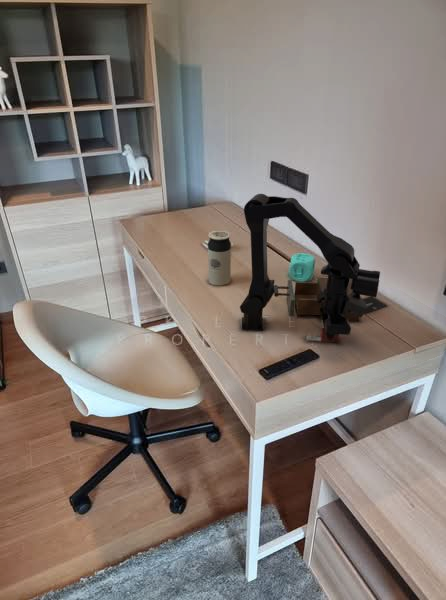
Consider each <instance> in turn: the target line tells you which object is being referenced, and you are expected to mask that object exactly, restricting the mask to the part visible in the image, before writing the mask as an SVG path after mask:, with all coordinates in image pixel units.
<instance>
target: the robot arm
mask: <svg viewBox="0 0 446 600" xmlns="http://www.w3.org/2000/svg"><path fill="white" fill-rule="evenodd" d="M243 214H244V218H245V223H246V225H247V227H248V229H249V233H250V254H251V255H250V256H251V259H250V260H251V281H250V286H249V289H248V294H247V295H246V297H245V298H244V299H243V301H242V302H241V304H240V306H239V309H240V312H241V313H242V314H243V315H242V316H243V317H242V318H241V330H242V331H261V332H262V331H264V318H263V311H264V308H266V307H267V305H268V303H269V302H270V301H271V299H272V297H273V296H274V292H275V290H274V285H275V279H270V277H269V274H268V226H269V222H270V220H271V219H277V218H287V219H288V220H289V221H290V222H292V224H293V225H295V226H296V227H297V229H299V230H300V231H301V232H302V233H303V234H304V235H305V236H306V237H307V238H308V239H310V240H311V242H312V243H313V244H315V246H316V247H317V248H318V249H319V250H320V252H321V254H322V256H323V258H324V259H325V261H326V262H327V263H326V264H325V265H324V266H322V268H321V270H320V275H325V276H327V277H326V278H327V285H326V288H324V292H323V291H322V292H320V293H319V294H318V303H319V304H321V301H322V300H324V301H322V305H323V308H320V312H321V316H322V319H323V321H322V323H323V328H325V331H326V334H327V337H328V340H332V339H333V337H334V336H335V334H336V335H339V336H349V335H350V334H351V331H352V327H351V323H350V321H348V320H347V319H346V318H344V316H343V315H347V314H348V312H349V313H351V314H354V315H357V316H358V317H359V318H362V317H363V315H365V314H364V312H365V311H366V309H367V306H366V303H365V302H364V301H363V299H364V298H362V297H361V299H360V296H366V297H374V298H377V295H378V292H379V285H380V277H381V271H379V270H369V269H363V268H362V269H361V268H360V266H361V264H360V263H359V260H358V259H357V257H356V256H355V248H354V246H352V245H351V244H350V243H349V242H347V241H346V240H345V239H343V238H342V237H339V236H337V235H334V234H333V233H331V232H330V231H328V229H326V227H325V226H324V225H323V224H322V223H320V221H318V219H316V218H315V216H313V215H312V214H311V213H310V212H309V211H308V210H307V209H306V208H305V207H303V205H301V204H300V202H299V200H298V199H296V198H295V197H284V196H283V197H282V196H278V195H277V196H276V195H275V196H273V195H272V196H271V195H270V196H268V195H267V194H265V193H257V194H255V195H254V196H253V197H252V198H250V199H249V200H248V201H247V202H246V203H245V205H244V207H243ZM350 279H352V284H351V289H352V290H353V291H352V293H351V294H349V295H347V292H348V286H349V280H350ZM341 314H343V315H341Z"/></svg>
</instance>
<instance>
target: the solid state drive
mask: <svg viewBox="0 0 446 600" xmlns="http://www.w3.org/2000/svg"><path fill="white" fill-rule="evenodd" d="M362 299H363V301H364V302H365V303H366V306H367V309H366V311H365V312H364V314H363V315H367V314H368V313H369V314H370V313H372V312H373V313H374V312H375V311H378V310H381V309H383V308H387V307H388V305H387V304H386V303H384V302H382V301H381V300H379V299H377V298H376V297H371V296H367V297H365V298H362Z"/></svg>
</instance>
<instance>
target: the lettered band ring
mask: <svg viewBox="0 0 446 600" xmlns="http://www.w3.org/2000/svg"><path fill="white" fill-rule="evenodd" d="M208 242H209V241H208V240H204V242H202V245H203V246H204V247H205V248H206V249H208ZM234 245H235V244H234V243H233V242H231V247H234Z"/></svg>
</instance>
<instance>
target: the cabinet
mask: <svg viewBox="0 0 446 600" xmlns="http://www.w3.org/2000/svg"><path fill="white" fill-rule="evenodd" d="M327 278H328V277H317V278H316V282H318V284H319V288H320V291H321V292H322V291H323V292H324V288H326V285H327ZM351 284H352V279H350V280H349V286H348V292H347V295H349V294H351V293H352V291H353V290H352V289H351ZM361 298H362V295H360V299H361ZM323 301H324V300H323ZM322 308H323V305H322ZM341 315H343V314H341ZM343 316H344V318H346V319H347V320H348V321H349V322H351V323H352V322H355V323H359V321H360V317H358V316H357V315H354V314H351V313H349V312H348V314H347V315H343ZM319 318H320V321H321V322H323V319H322V316H321V315H319Z"/></svg>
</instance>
